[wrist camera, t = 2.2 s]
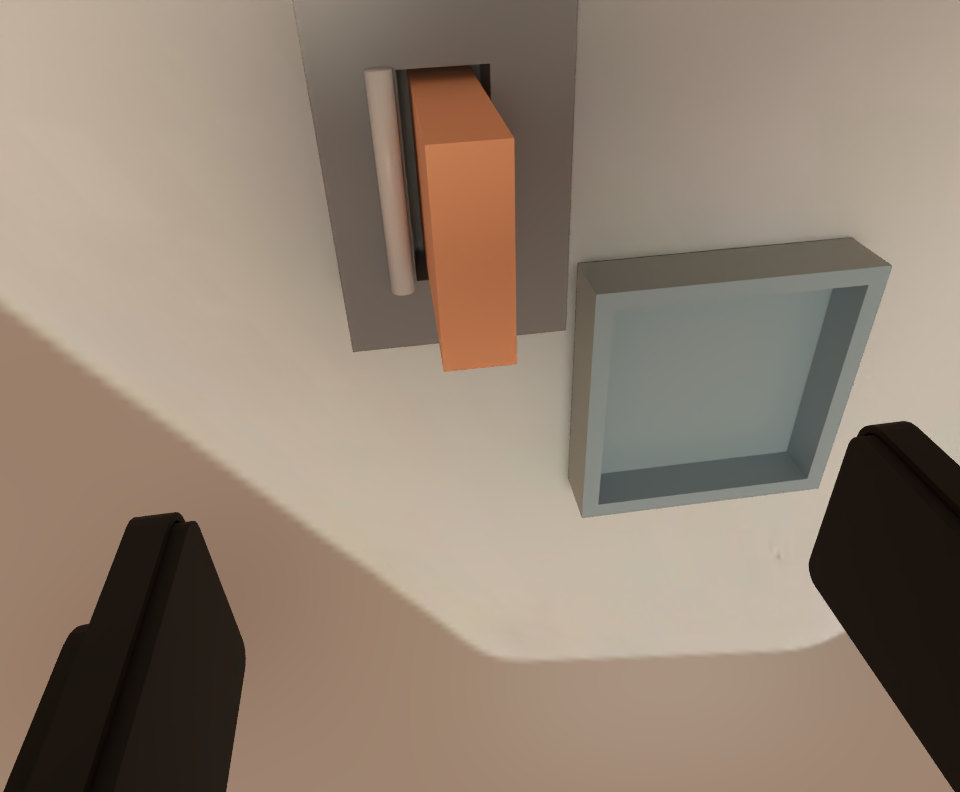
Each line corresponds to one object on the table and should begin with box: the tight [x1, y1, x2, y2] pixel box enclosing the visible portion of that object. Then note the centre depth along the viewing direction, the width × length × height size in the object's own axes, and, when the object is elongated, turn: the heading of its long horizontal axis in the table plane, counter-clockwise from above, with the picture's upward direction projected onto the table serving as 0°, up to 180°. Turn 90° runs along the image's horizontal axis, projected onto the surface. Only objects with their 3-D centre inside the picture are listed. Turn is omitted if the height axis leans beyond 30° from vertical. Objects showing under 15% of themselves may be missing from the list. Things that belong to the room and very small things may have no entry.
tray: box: [568, 238, 892, 518], centre depth 33 cm, size 13×13×3 cm
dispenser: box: [292, 0, 578, 352], centre depth 24 cm, size 8×12×6 cm, turn 2°
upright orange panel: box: [407, 65, 517, 372], centre depth 21 cm, size 2×6×9 cm, turn 2°
